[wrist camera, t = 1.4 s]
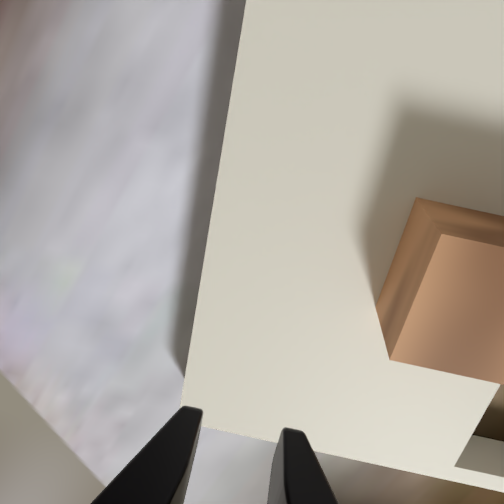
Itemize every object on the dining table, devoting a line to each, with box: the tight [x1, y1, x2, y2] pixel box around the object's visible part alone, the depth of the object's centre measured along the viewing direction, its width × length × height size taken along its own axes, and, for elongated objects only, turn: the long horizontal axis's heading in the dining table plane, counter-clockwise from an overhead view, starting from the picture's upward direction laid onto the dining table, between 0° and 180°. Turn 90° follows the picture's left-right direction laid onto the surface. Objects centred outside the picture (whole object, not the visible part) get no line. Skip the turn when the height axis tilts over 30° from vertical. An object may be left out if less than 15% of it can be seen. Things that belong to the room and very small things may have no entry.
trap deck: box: [180, 0, 504, 492], centre depth 19 cm, size 22×23×4 cm
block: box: [375, 197, 504, 385], centre depth 17 cm, size 5×5×4 cm
